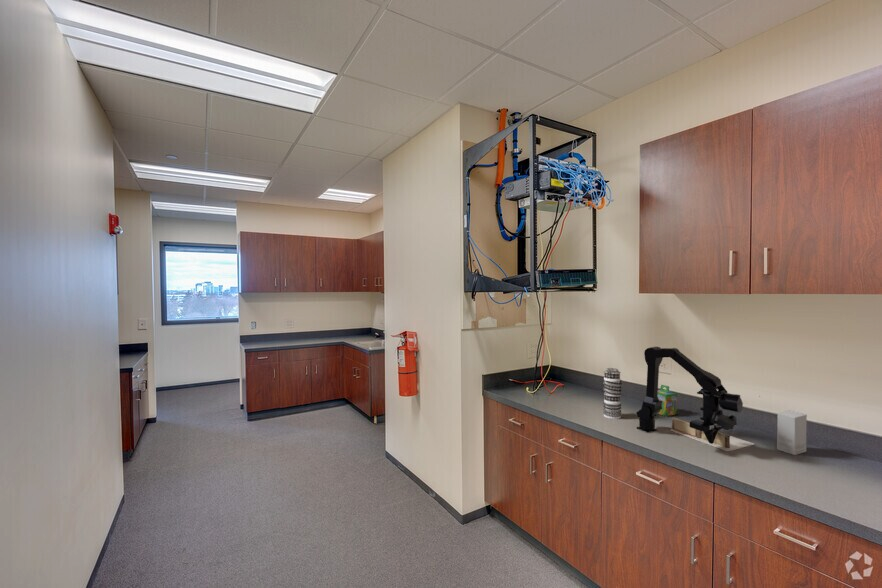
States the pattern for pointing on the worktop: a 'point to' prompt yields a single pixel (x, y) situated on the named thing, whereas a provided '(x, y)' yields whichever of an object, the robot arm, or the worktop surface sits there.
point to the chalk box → (667, 401)
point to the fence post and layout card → (686, 430)
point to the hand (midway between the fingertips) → (711, 443)
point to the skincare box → (791, 432)
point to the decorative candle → (612, 393)
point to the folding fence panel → (720, 439)
